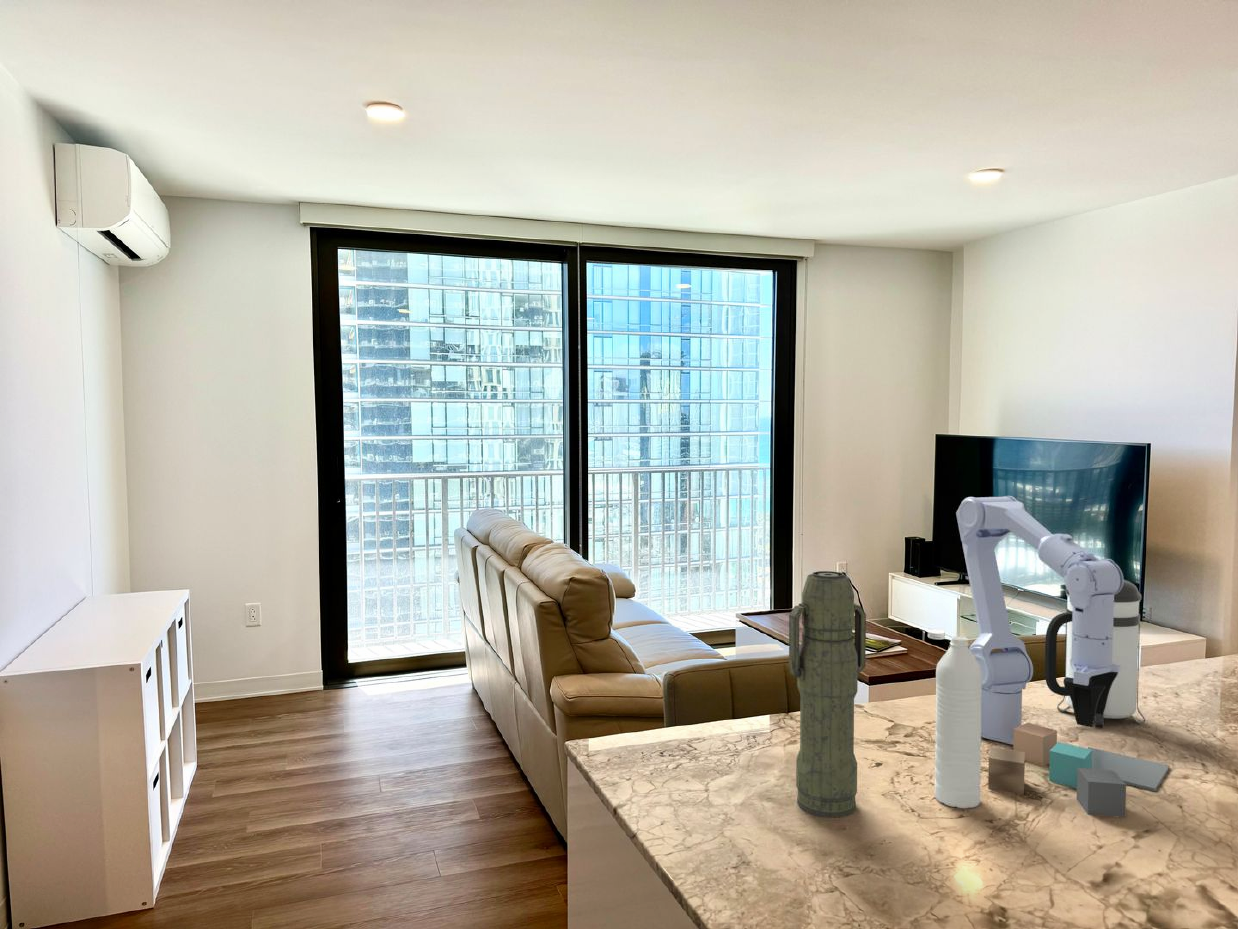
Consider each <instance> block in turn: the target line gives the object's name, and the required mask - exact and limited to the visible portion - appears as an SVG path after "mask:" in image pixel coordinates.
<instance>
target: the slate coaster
mask: <svg viewBox="0 0 1238 929" xmlns="http://www.w3.org/2000/svg"><path fill="white" fill-rule="evenodd" d="M1086 748H1087V749H1091V750H1092V769H1099V770H1112V771H1114V772H1115V773H1116V774H1117V775H1118V776H1119V777H1120V778H1121V779H1122V780H1123V782H1124V783H1125V784H1126V786H1127V785H1128V786H1130V785H1132V786H1131V787H1134V786H1136V787H1135V788H1138V787H1139V788H1138V789H1142V788H1143V789H1142V790H1146V791H1151V792H1155V791H1157V790H1158V788H1159V787H1158V786H1160V785H1161V783H1162V781H1163V780H1164V778H1165V776H1167V773H1168V771H1169V770H1170V765H1169V764H1165V763H1160V762H1158V761H1157V762H1156V761H1151V760H1148V759H1143V758H1138V757H1133V756H1129V755H1125V754H1121V753H1116V752H1112V751H1108V750H1104V749H1103V750H1102V749H1099V748H1095V747H1094V748H1093V747H1086Z"/></svg>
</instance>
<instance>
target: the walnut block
mask: <svg viewBox="0 0 1238 929" xmlns="http://www.w3.org/2000/svg"><path fill="white" fill-rule="evenodd" d="M988 755H989V756H988V774H987V775H988V779H987V782H988V784H987V785H988V788H987V789H989V790H995V791H1000V792H1003V793H1004V792H1006V793H1010V794H1015V795H1016V794H1017V795H1022V796H1024V792H1025V766H1026V764H1025V762H1026V761H1025V752H1019V751H1013V750H1012V749H1006V748H1000V747H999V748H998V747H992V746H991V747H990V749H989V754H988Z"/></svg>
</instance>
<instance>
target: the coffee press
mask: <svg viewBox="0 0 1238 929" xmlns="http://www.w3.org/2000/svg"><path fill="white" fill-rule="evenodd" d="M1065 594H1066V596H1067V602H1066V603H1067V606H1066V607H1065V612H1062V613H1059V614H1057V615H1055V616H1054V617H1053V618H1051V620H1050V622H1049V623H1048V626H1047V629H1046V633H1045V640H1044V641H1045V644H1044V646H1045V647H1044V678H1045V683H1046V686H1047V687H1048V689H1049V690H1050V691H1051V693H1054V694H1056V695H1059V696H1063V698H1062V700H1060V701H1059V703H1058V704H1057V708H1056V709H1057V711H1059V712H1060V713H1064V712H1066V711H1068V710H1069V709H1073V705H1072V701H1071V698H1070V696H1069V693H1068V691H1067V689H1066V688H1065V686H1064V685H1063V686H1061V685H1060V684H1059V683H1058V679H1057V646H1058V645H1057V640H1058V635H1059V634H1058V633H1059V631H1060V629H1061V627H1062V626H1064V625H1065V639H1064V640H1065V647H1064V648H1065V649H1064V679H1065V678H1066V677H1069V678H1073V674H1074V671H1073V669H1072V667H1071V665H1070V659H1071V658H1072V617H1073V606H1072V605H1071V602H1070V595H1069V591H1068V590H1067V588H1066V587H1065ZM1141 600H1142V594H1141V592H1139V590H1138V587H1137V586H1136V585H1135V584H1134V583H1132V582H1130V581H1129V580H1126V579H1124V582H1123V587H1122V589H1121V590H1120V592H1119V593H1117V594H1115V595H1114V618H1113V657H1112V663H1113V664H1115V665H1120V666H1121V671H1120V672H1118V675H1117V676H1116V678H1115V680H1114V681H1113V683H1112V686H1111V688H1110V691H1109V695H1108V699H1107V703H1106V707H1105V710H1104V713H1103V714H1097V713H1096V715H1095V720H1094V727H1095V728H1100V729H1104V719H1124V718H1125V719H1126V718H1128V717H1130V718H1131V719H1133V721H1135V722H1136V724H1138V725H1143V724H1145V723H1146V718H1145V716H1144V715H1143V713H1142V712H1141V710H1140V708H1139V679H1138V678H1139V676H1140V675H1139V674H1140V672H1139V671H1140V668H1139V666H1140V663H1139V662H1140V637H1139V636H1140V635H1141V634H1140V630H1141V629H1140V628H1141V627H1140V626H1141V624H1140V623H1141V613H1139V609H1140V602H1141ZM1065 700H1066V703H1067V705H1068V706H1067V707H1065V708H1063V709H1061V708H1060V707H1059V706H1060V705H1062V703H1064V701H1065ZM1136 711H1138V713H1139V714H1140V716H1141V717H1142V719H1143V720H1142V721H1139V720H1138V719H1137V718H1136V717H1135V716H1134V714H1135V713H1136Z"/></svg>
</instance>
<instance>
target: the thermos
mask: <svg viewBox="0 0 1238 929" xmlns="http://www.w3.org/2000/svg"><path fill="white" fill-rule="evenodd" d="M800 617H801V625H802V632H801V642H800ZM788 618H789V621H788V628H789V630H788V633H789V634H788V663H789V665H788V667H789V668H788V669H789V674H790V675H791V676H793V677H796V678H797V680H796V683H797V690H798V692H799V694H800V701H799V702H800V704H799V705H800V711H799V712H800V715H799V716H800V718H799V720H800V722H799V723H800V725H799V727H800V728H799V735H800V736H799V738H800V739H799V742H800V743H799V751H798V754H797V756H796V763H795V764H796V767H795V768H796V771H795V772H796V773H795V774H796V776H795V781H796V782H795V787H796V789H797V798H796V799H797V801H796V802H797V805H798V807H799V808H800V809H802V810H803V811H804V810H805V811H804V812H807V813H809V814H810V815H814V816H817V817H818V816H819V817H822V818H823V817H825V818H843V817H847V816H849V815H851V814H854V812H855V811H856V810H857V808H856V807H857V803H856V795H857V793H858V761H857V758H856V756H855V753H854V751H855V750H854V744H855V743H854V742H855V740H854V739H855V736H854V735H855V698H856V696H857V694H858V685H859V684H858V680H859V678H858V677H859V676H860V674H861V672H862V671H863V670H864V669H865V668H866V665H867V664H866V654H867V652H866V645H867V644H866V638H867V635H866V634H867V631H866V630H867V614H866V612H865V611H864V609H863V607H862V606H861V605H859V604H857V603H855V593H854V589H853V586H852V583H851V579H850V577H849V576H848V575H845V574H844V573H843V572H839V571H830V570H828V571H827V570H819V571H813V572H812V573H810V574H808V575H807V577H806V579H805V583H804V585H803V590H802V593H801V603H798V605H794V607H793V609H792V610H791V611H790V613H789V617H788ZM853 629H854V635H853Z"/></svg>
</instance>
